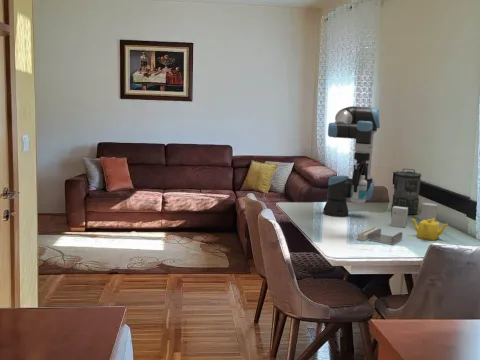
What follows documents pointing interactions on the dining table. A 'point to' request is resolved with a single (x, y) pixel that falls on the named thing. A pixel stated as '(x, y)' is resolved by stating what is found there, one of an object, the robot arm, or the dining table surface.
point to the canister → (407, 190)
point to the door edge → (365, 234)
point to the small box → (399, 216)
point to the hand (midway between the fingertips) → (358, 197)
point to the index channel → (384, 237)
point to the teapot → (428, 229)
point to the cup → (428, 211)
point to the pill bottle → (360, 191)
